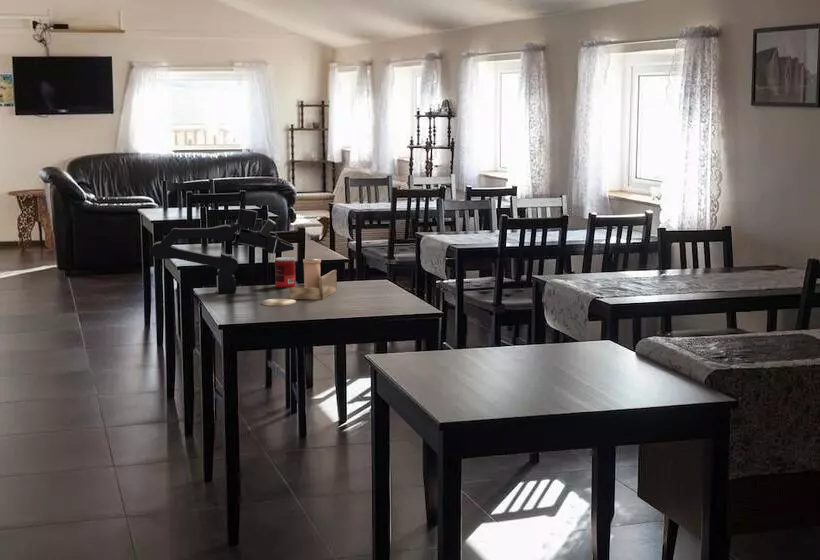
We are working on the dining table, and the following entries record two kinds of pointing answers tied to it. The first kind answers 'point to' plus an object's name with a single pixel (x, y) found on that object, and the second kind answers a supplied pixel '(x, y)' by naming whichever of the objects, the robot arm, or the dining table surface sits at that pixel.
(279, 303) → the cream flat disc
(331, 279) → the cold frame
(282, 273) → the canned food
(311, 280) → the terracotta pot
